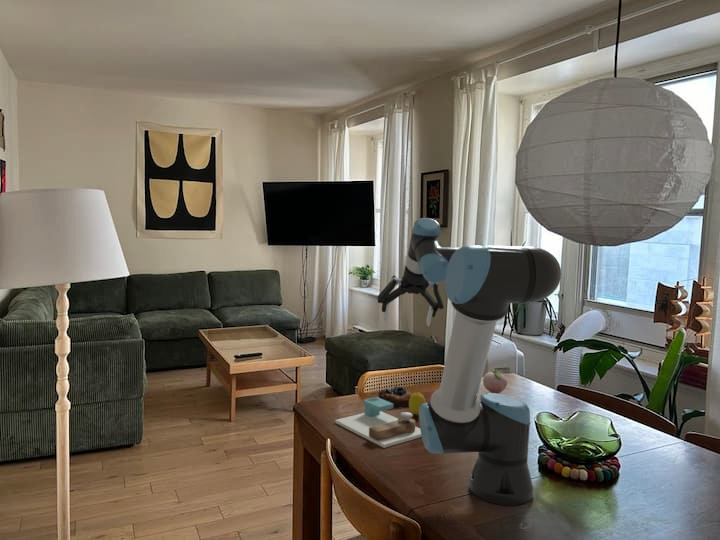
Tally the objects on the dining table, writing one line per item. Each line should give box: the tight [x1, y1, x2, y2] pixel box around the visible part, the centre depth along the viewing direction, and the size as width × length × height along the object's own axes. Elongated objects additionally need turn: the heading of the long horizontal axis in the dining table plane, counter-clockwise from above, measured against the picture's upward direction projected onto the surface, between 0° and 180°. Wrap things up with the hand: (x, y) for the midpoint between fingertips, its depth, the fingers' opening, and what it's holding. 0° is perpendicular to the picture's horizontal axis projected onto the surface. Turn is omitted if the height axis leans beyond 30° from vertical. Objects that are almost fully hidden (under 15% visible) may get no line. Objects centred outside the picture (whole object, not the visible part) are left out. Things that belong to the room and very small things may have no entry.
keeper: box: [363, 396, 394, 417], centre depth 188 cm, size 8×6×6 cm
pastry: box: [377, 386, 413, 408], centre depth 206 cm, size 11×12×6 cm
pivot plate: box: [335, 411, 422, 449], centre depth 180 cm, size 24×18×6 cm
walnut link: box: [369, 417, 416, 440], centre depth 174 cm, size 16×6×2 cm, turn 128°
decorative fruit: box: [482, 368, 508, 394], centre depth 218 cm, size 9×8×10 cm
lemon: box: [408, 391, 426, 416], centre depth 193 cm, size 6×6×8 cm
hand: (406, 321), depth 181 cm, fingers open, 13 cm apart
